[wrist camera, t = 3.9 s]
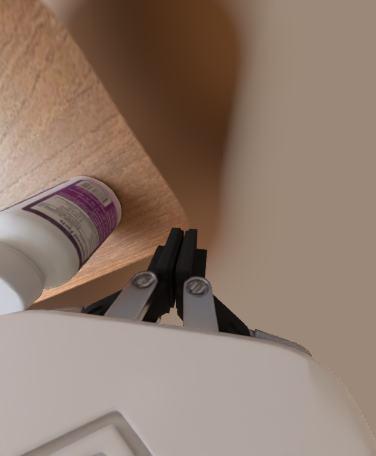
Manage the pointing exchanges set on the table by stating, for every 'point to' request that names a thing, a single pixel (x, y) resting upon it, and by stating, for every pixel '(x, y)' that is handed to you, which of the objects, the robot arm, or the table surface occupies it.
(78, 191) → the pill bottle
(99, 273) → the table surface
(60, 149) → the table surface
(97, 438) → the robot arm
